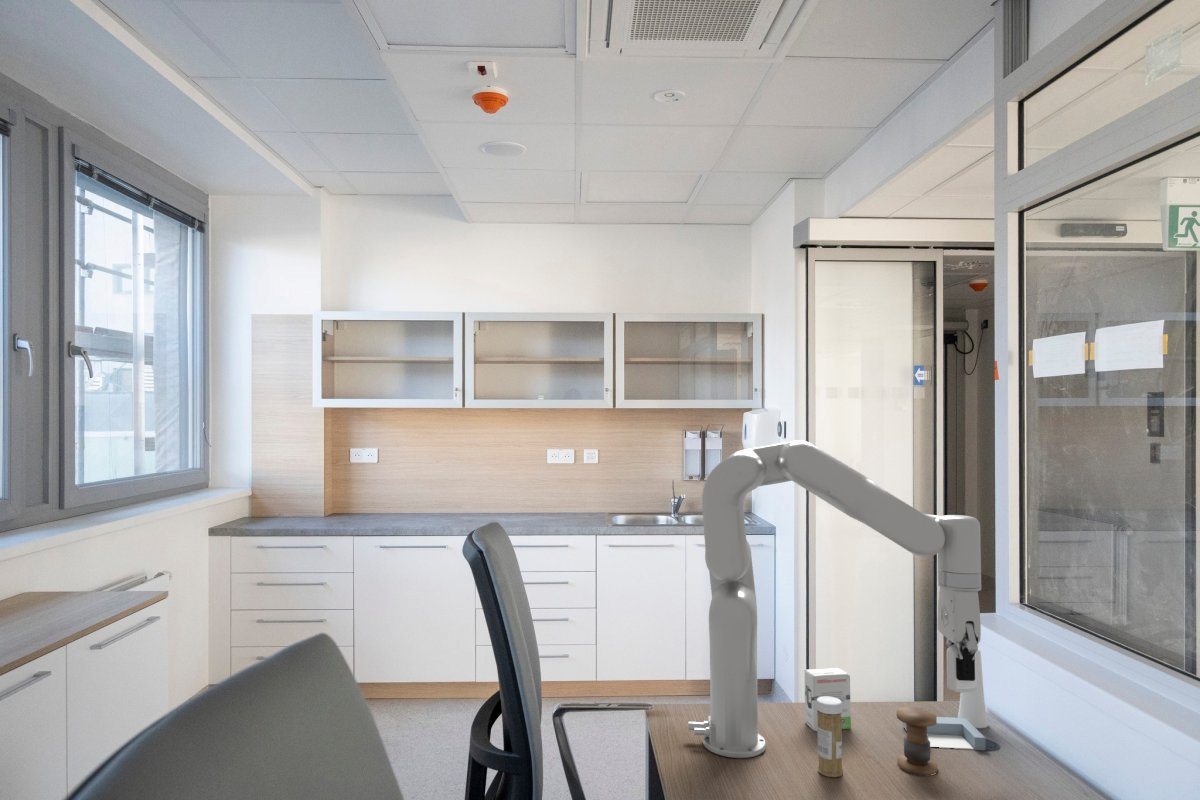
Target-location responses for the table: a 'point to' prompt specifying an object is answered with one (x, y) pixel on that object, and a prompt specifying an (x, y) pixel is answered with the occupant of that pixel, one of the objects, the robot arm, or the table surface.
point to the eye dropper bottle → (951, 672)
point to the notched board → (954, 734)
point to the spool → (917, 741)
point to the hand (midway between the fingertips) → (960, 674)
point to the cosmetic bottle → (974, 700)
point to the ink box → (826, 693)
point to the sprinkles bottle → (829, 736)
